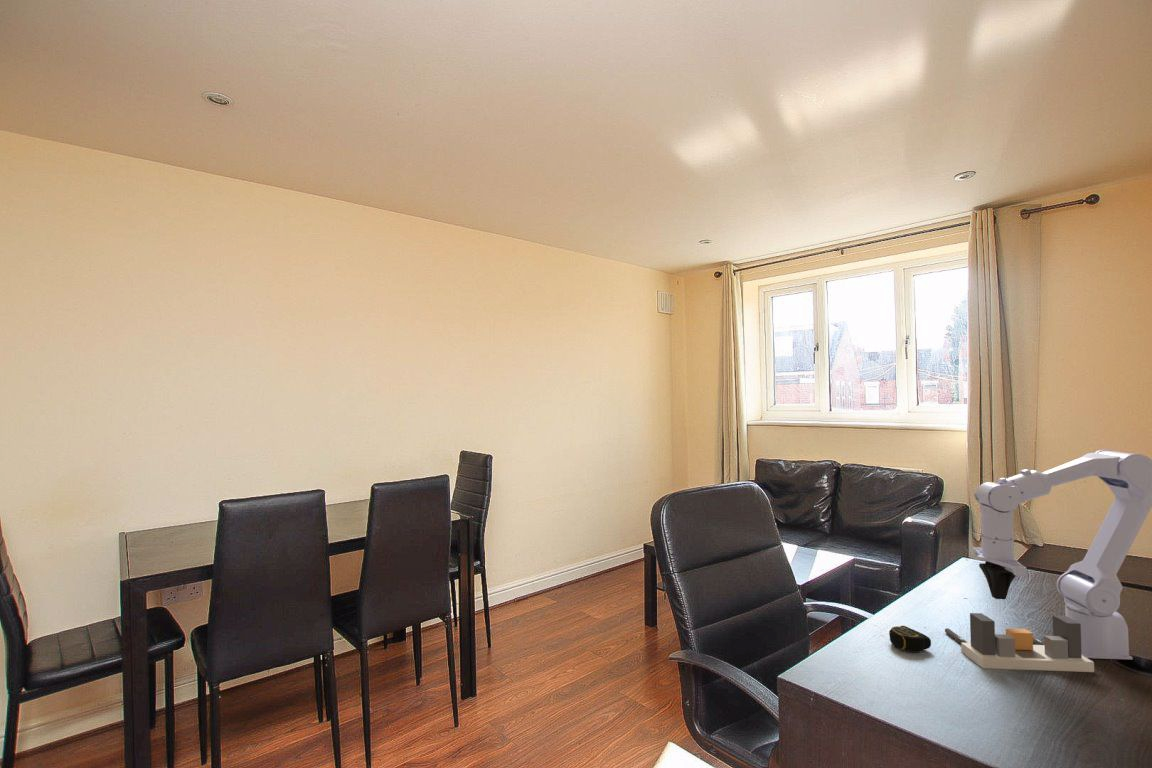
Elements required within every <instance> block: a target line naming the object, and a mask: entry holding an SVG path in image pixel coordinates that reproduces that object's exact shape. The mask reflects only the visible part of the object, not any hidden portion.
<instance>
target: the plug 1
mask: <svg viewBox="0 0 1152 768" xmlns="http://www.w3.org/2000/svg"><path fill="white" fill-rule="evenodd" d="M995 622H996V621H995V620H993V619H991V618H990V617H989V616H987V615H985V614H984V613H980V612H979V613H978V612H976V613H975V612H970V613H969V624H970V625H969V626H970V631H969V632H970V643H971V646H972V647H973V648H974V649H976V650H977V651H978V652H980V653H981V654H983V655H995V634H996V623H995Z"/></svg>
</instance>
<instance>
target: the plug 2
mask: <svg viewBox="0 0 1152 768" xmlns="http://www.w3.org/2000/svg"><path fill="white" fill-rule="evenodd" d="M1052 636H1060V637H1062V638H1064V639H1066V640H1068V658H1082V652H1081V624H1080V623H1078V622H1076V621H1074V620H1072V619H1070V618H1068V617H1067V616H1066V615H1059V614H1057V615H1055V614H1053V615H1052Z"/></svg>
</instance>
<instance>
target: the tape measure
mask: <svg viewBox="0 0 1152 768" xmlns="http://www.w3.org/2000/svg"><path fill="white" fill-rule="evenodd" d="M888 632H889V633H888V636H889V641H890V643H891V644H892V645H893V646H894V647H896V648H899V649H901V650H903V651H906V652H913V653H920V652H923V651H924V650H927V649H930V648H931V647H932V641H931V638H930V637H929V636H927V635H925V634H924V633H922V632H920V631H919V630H918V631H917V630H915V629H913V628H910V627H909V626H906V625H900V626H892V627H891V629H890V630H889V631H888Z"/></svg>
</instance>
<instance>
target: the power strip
mask: <svg viewBox="0 0 1152 768" xmlns="http://www.w3.org/2000/svg"><path fill="white" fill-rule="evenodd" d="M944 632H945V634H947V635H948V636H950V637H951V638H952V639H953V640H955V641H957V643H958V644H960V647H961V648H960V650H961V651H960V652H961V653H962V654H964V655H965V656H966V657H967V658H969V659H970V660H971V661H973V662H974V663H975V664H976V665H977V666H979V667H981V669H994V670H996V669H998V670H1022V671H1023V670H1025V671H1047V672H1048V671H1050V672H1051V671H1052V672H1053V671H1054V672H1082V673H1095V662H1094V661H1093V660H1091V659H1090V658H1086V657H1084V656H1082V658H1068V640H1066V639H1064V638H1062V637H1060V636H1053V635H1044V636H1043V639H1044V640H1043V641H1044V642H1043V641H1042V640H1040V639H1038V638H1037V637H1036V636H1034V635H1033V650H1015V639H1014V638H1013V637H1011V636H1009V635H1006V634H1003V633H1002V634H1001V633H1000V634H998V633H995V655H983V654H981V653H980V652H978V651H977V650H976V649H974V648H973V647H972V646H971V642H968V641H967V640H965V639H964V638H963V637H961V636H960V635H958V634H957V633H955V632H954V631H953V630H952V629H950V628H947V627H946V628H945V629H944Z"/></svg>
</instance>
